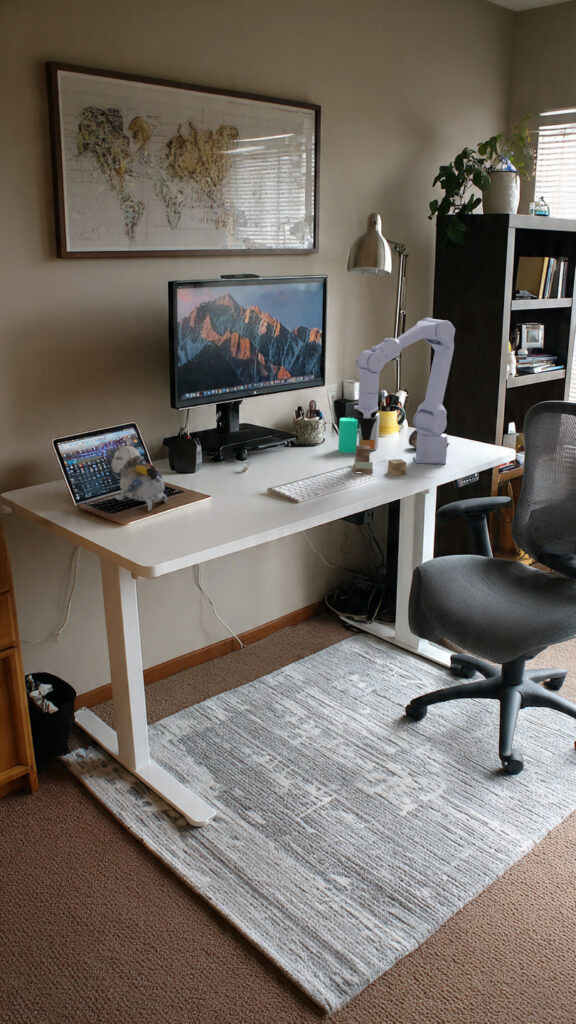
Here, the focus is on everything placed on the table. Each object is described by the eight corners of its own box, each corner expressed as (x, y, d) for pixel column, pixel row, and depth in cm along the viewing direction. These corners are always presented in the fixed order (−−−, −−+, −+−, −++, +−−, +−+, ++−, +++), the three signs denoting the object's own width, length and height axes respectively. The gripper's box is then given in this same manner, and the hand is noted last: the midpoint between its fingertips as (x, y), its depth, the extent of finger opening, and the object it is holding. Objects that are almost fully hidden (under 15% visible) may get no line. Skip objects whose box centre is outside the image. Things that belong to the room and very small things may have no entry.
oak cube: (399, 471, 254) (400, 459, 252) (405, 475, 250) (406, 462, 249) (387, 472, 253) (388, 459, 251) (393, 476, 249) (394, 463, 248)
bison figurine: (406, 448, 282) (412, 454, 273) (408, 427, 280) (414, 432, 271) (441, 448, 283) (449, 454, 273) (443, 428, 281) (451, 433, 271)
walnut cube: (368, 458, 254) (369, 445, 253) (369, 462, 251) (369, 449, 249) (355, 458, 255) (356, 445, 253) (355, 461, 251) (356, 448, 250)
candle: (356, 453, 273) (358, 416, 270) (338, 452, 273) (340, 416, 270) (355, 448, 279) (357, 413, 275) (337, 448, 279) (339, 412, 275)
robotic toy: (134, 491, 230) (132, 438, 225) (178, 504, 220) (177, 449, 215) (97, 501, 221) (94, 446, 216) (141, 516, 210) (139, 458, 205)
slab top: (370, 464, 256) (370, 457, 255) (372, 468, 251) (372, 462, 250) (354, 464, 256) (354, 457, 255) (355, 468, 251) (356, 462, 250)
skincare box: (357, 449, 278) (359, 414, 274) (360, 446, 282) (362, 411, 278) (375, 451, 276) (377, 415, 272) (378, 448, 280) (380, 412, 276)
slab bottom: (371, 470, 256) (371, 464, 256) (372, 475, 251) (372, 469, 251) (353, 470, 256) (353, 463, 256) (354, 475, 251) (354, 468, 251)
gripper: (355, 387, 254) (354, 430, 258) (354, 396, 240) (352, 442, 245) (379, 387, 253) (377, 431, 258) (378, 397, 239) (376, 443, 244)
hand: (366, 436), depth 251 cm, fingers open, 7 cm apart
